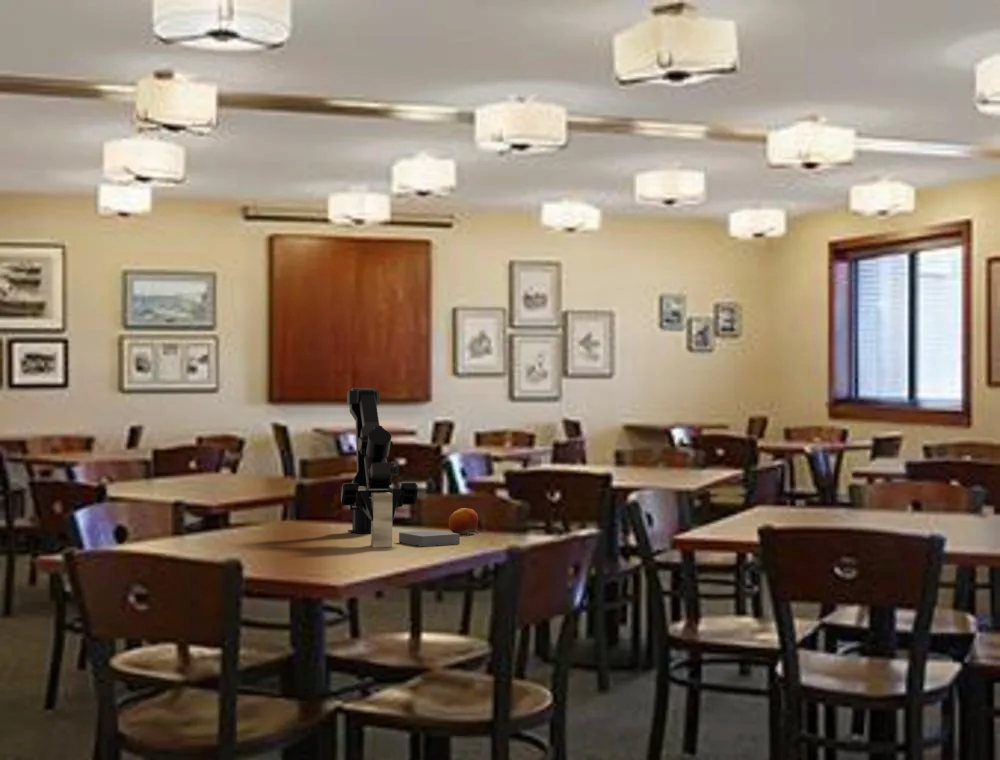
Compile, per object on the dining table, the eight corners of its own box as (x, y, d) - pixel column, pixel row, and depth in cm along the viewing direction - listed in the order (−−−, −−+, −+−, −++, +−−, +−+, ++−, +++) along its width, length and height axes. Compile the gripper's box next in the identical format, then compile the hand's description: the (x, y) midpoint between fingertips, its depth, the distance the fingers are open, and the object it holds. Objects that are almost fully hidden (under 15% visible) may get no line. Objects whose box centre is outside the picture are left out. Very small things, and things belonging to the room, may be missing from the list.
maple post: (371, 545, 350) (371, 492, 350) (389, 544, 351) (389, 492, 351) (373, 547, 346) (373, 493, 346) (392, 546, 347) (392, 493, 347)
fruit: (471, 530, 373) (459, 504, 376) (451, 544, 377) (439, 517, 380) (490, 528, 380) (478, 502, 382) (470, 542, 384) (458, 515, 386)
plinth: (398, 542, 357) (399, 532, 357) (435, 540, 363) (435, 530, 363) (422, 546, 348) (422, 536, 348) (459, 544, 354) (459, 534, 354)
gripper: (342, 450, 351) (347, 498, 340) (417, 450, 355) (424, 497, 344) (338, 480, 358) (343, 528, 347) (412, 479, 362) (418, 527, 351)
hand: (382, 519), depth 347 cm, fingers closed on maple post, 5 cm apart
